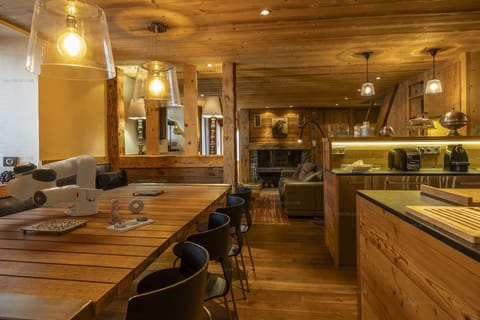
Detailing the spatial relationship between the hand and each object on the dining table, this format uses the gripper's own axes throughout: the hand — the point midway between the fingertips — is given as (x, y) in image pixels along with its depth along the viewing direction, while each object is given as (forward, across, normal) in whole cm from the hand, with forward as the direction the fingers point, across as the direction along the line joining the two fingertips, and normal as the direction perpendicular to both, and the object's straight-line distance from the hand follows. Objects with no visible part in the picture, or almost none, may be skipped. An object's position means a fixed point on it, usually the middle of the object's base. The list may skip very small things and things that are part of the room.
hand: (96, 190), depth 158 cm
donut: (+37, -9, -21) cm, 44 cm away
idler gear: (+12, 0, -21) cm, 24 cm away
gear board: (+12, +13, -21) cm, 27 cm away
